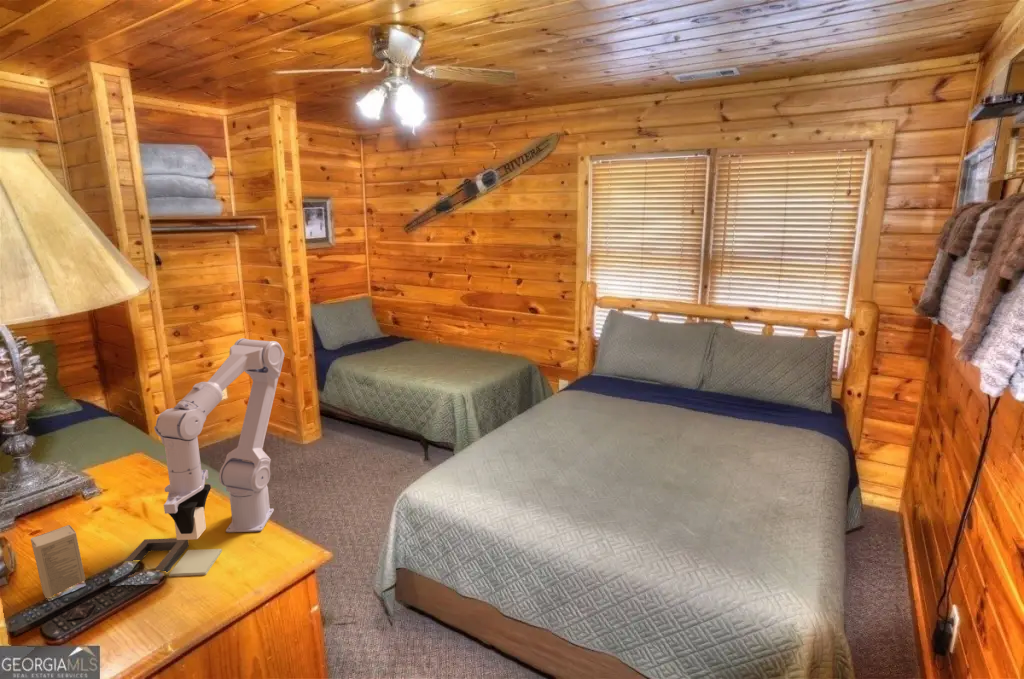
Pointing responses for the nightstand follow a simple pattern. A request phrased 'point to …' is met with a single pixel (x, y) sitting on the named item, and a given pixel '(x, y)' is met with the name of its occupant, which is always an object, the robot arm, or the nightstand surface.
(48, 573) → the skincare box
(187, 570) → the tile
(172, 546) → the dark brown rectangular frame
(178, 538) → the peg
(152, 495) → the nightstand surface
